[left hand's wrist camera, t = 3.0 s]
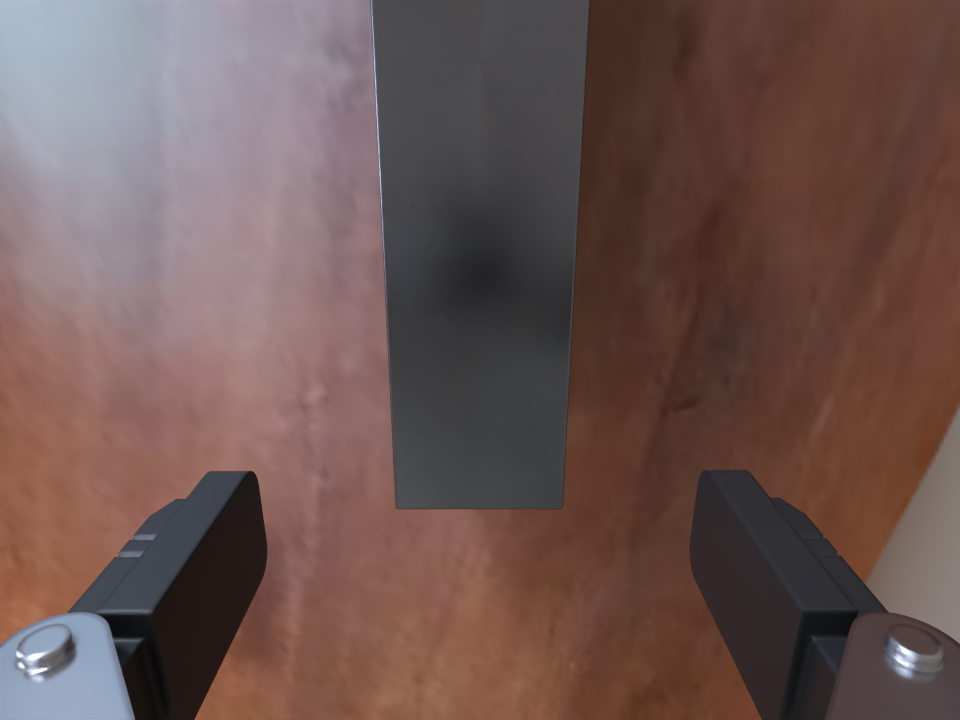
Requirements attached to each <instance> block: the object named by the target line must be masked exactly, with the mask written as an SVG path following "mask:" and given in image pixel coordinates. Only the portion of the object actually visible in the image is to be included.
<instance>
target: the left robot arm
mask: <svg viewBox="0 0 960 720" xmlns="http://www.w3.org/2000/svg"><path fill="white" fill-rule="evenodd" d="M266 561H267V541H266V534H265V526H264V519H263V512H262V505H261V498H260V491H259V484H258V479H257V477H256V475H255V473H254V472H252V471H210V472H208V473H207V474H206V475H205V476H204V477H203V478H202V480H201V481H200V482H199V483H198V485H197V486H196V487H195V488H194V490H193V491H192V492H191V493H190V495H189V496H188V497H187V498H186V499H176V500H174V501H173V502H171V503H170V504H168V505H166V506H165V507H163V508H162V509H160V510H159V511H157V512H156V513H154V514H153V515H151V516H150V517H149V518H148V519H147V520H146V521H145V523H144V524H143V525H142V526H141V527H140V528H139V530H138V531H137V532H136V533H135V534H134V535H133V540H129V541H128V542H127V544H126V545H125V546H124V547H123V548H122V549H121V551H120V552H119V555H118V557H115V558H114V559H113V560H112V561H111V562H110V563H109V565H108V566H107V567H106V568H105V569H104V570H103V572H102V573H101V574H100V575H99V576H98V577H97V579H96V580H95V581H94V582H93V583H92V585H91V586H90V587H89V588H88V589H87V590H86V592H85V593H84V594H83V595H82V596H81V597H80V599H79V600H78V601H77V602H76V603H75V604H74V606H73V607H72V608H71V609H70V610H69V611H68V613H64V614H60V615H56V616H52V617H49V618H46V619H43V620H40V621H38V622H36V623H33V624H31V625H29V626H27V627H25V628H23V629H21V630H20V631H18V632H16V633H15V634H13V635H12V636H10V637H9V638H8V639H6V640H5V641H4V642H2V643H1V644H0V720H194V719H195V717H196V715H197V713H198V711H199V709H200V707H201V705H202V703H203V701H204V699H205V697H206V695H207V693H208V690H209V688H210V686H211V684H212V682H213V680H214V678H215V676H216V674H217V672H218V670H219V668H220V666H221V664H222V662H223V660H224V657H225V655H226V653H227V651H228V649H229V647H230V645H231V643H232V641H233V639H234V637H235V635H236V633H237V631H238V629H239V627H240V624H241V622H242V620H243V618H244V616H245V614H246V612H247V610H248V608H249V606H250V604H251V602H252V600H253V598H254V596H255V593H256V591H257V589H258V587H259V585H260V583H261V581H262V579H263V576H264V572H265V568H266ZM690 562H691V567H692V572H693V575H694V578H695V580H696V582H697V585H698V587H699V589H700V591H701V593H702V595H703V597H704V599H705V601H706V603H707V605H708V608H709V610H710V612H711V614H712V616H713V618H714V620H715V622H716V624H717V626H718V628H719V631H720V633H721V635H722V637H723V639H724V641H725V643H726V645H727V647H728V649H729V651H730V653H731V656H732V658H733V660H734V662H735V664H736V666H737V668H738V670H739V672H740V674H741V676H742V679H743V681H744V683H745V685H746V687H747V689H748V691H749V693H750V695H751V697H752V699H753V702H754V704H755V706H756V708H757V710H758V712H759V714H760V716H761V718H762V720H960V644H959V643H958V642H956V641H955V640H954V639H952V638H951V637H950V636H948V635H947V634H945V633H944V632H942V631H940V630H939V629H937V628H935V627H933V626H931V625H929V624H927V623H924V622H922V621H919V620H917V619H914V618H911V617H908V616H904V615H900V614H895V613H889V612H888V611H887V610H886V609H885V608H884V606H883V605H882V604H881V603H880V602H879V600H878V599H877V598H876V597H875V596H874V595H873V593H872V592H871V591H870V590H869V589H868V587H867V586H866V585H865V584H864V583H863V582H862V580H861V579H860V578H859V577H858V576H857V574H856V573H855V572H854V571H853V570H852V569H851V567H850V566H849V565H848V564H847V563H846V561H845V560H844V559H843V558H842V557H841V556H838V555H837V551H836V550H835V549H834V547H833V546H832V545H831V544H830V543H829V541H828V540H827V539H823V534H822V533H821V532H820V531H819V530H818V528H817V527H816V526H815V525H814V524H813V523H812V521H811V520H810V519H809V518H808V517H807V515H805V514H804V513H802V512H801V511H799V510H798V509H796V508H795V507H793V506H792V505H790V504H788V503H787V502H785V501H784V500H782V499H781V498H770V497H769V496H768V495H767V493H766V492H765V491H764V490H763V488H762V487H761V486H760V484H759V483H758V482H757V481H756V479H755V478H754V477H753V476H752V474H751V473H750V472H749V471H747V470H704V471H703V472H702V473H701V475H700V477H699V481H698V487H697V494H696V502H695V509H694V516H693V523H692V531H691V538H690Z"/></svg>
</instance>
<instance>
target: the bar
mask: <svg viewBox="0 0 960 720" xmlns="http://www.w3.org/2000/svg"><path fill="white" fill-rule="evenodd" d="M370 1H371V21H372V41H373V61H374V81H375V101H376V121H377V141H378V161H379V181H380V201H381V221H382V241H383V261H384V281H385V301H386V321H387V341H388V361H389V381H390V401H391V421H392V441H393V461H394V481H395V501H396V508H397V509H562V507H563V492H564V473H565V455H566V436H567V418H568V399H569V381H570V362H571V343H572V325H573V306H574V288H575V269H576V251H577V232H578V214H579V195H580V177H581V158H582V139H583V121H584V102H585V84H586V65H587V47H588V28H589V10H590V0H370Z"/></svg>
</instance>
